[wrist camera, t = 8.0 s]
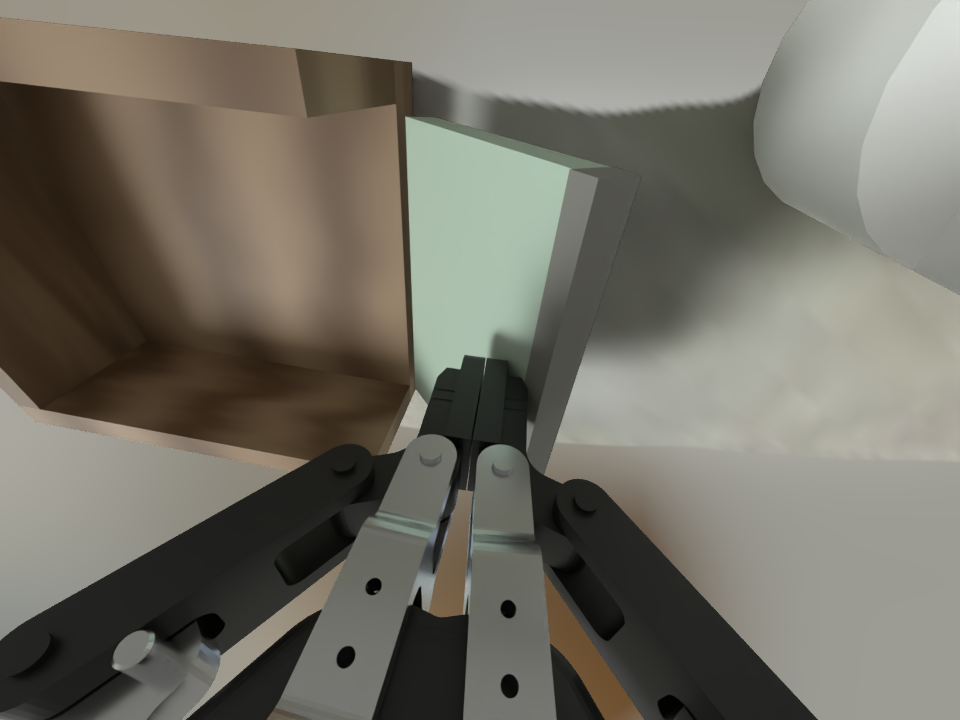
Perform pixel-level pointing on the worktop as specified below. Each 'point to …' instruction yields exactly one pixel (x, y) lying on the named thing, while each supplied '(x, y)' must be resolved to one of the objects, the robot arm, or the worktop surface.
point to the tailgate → (509, 260)
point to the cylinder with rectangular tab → (870, 127)
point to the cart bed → (204, 241)
